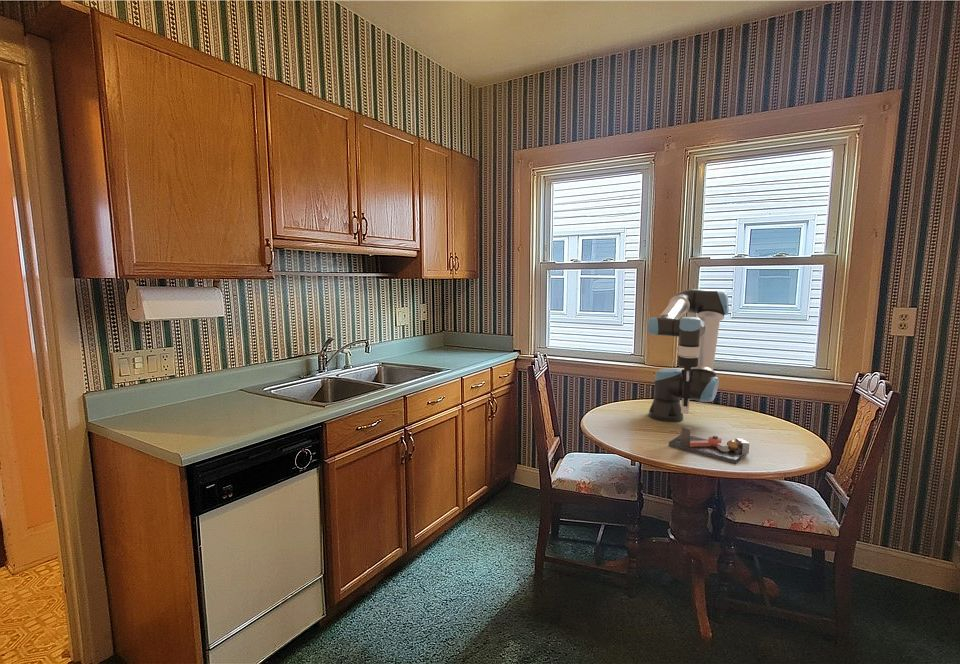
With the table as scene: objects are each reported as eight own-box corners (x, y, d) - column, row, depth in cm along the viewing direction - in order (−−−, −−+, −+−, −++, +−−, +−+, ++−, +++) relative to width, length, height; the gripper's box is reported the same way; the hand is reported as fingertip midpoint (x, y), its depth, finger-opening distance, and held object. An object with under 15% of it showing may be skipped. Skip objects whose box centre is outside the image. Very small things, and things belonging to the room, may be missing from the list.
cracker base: (668, 446, 179) (669, 432, 178) (682, 437, 188) (683, 424, 188) (740, 465, 161) (741, 450, 160) (751, 454, 171) (752, 440, 170)
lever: (690, 452, 167) (691, 434, 166) (678, 443, 176) (679, 426, 175) (730, 451, 169) (732, 432, 168) (716, 442, 177) (717, 425, 176)
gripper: (677, 352, 186) (674, 407, 190) (678, 358, 175) (674, 417, 178) (697, 353, 184) (694, 409, 187) (699, 360, 172) (695, 419, 175)
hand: (684, 413), depth 183 cm, fingers closed
